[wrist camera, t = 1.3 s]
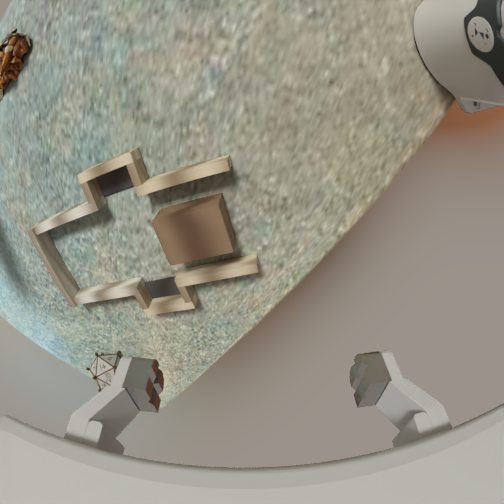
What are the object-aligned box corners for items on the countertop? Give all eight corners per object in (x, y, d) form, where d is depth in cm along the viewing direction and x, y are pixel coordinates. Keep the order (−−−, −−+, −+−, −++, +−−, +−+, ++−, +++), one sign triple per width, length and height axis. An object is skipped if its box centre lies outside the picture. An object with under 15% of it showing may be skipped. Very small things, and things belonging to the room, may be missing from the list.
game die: (112, 337, 53) (80, 346, 43) (144, 357, 51) (113, 371, 41) (105, 372, 53) (74, 384, 43) (135, 392, 51) (106, 409, 41)
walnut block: (222, 192, 33) (218, 204, 30) (235, 235, 36) (233, 252, 33) (161, 208, 34) (151, 222, 31) (177, 248, 37) (170, 265, 34)
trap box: (219, 121, 29) (216, 124, 26) (265, 284, 40) (265, 298, 37) (28, 199, 33) (16, 208, 30) (90, 313, 44) (83, 324, 41)
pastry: (-13, 95, 24) (-28, 99, 21) (15, 27, 19) (0, 26, 16) (7, 110, 26) (-8, 115, 23) (38, 37, 21) (22, 36, 18)
